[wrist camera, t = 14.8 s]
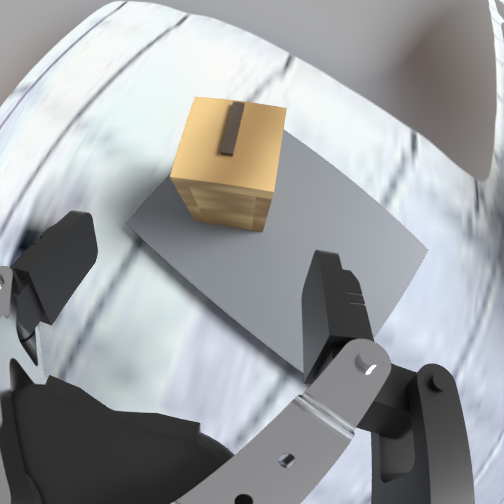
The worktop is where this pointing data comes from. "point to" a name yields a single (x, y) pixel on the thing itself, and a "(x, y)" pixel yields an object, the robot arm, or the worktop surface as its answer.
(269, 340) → the slate base plate
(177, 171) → the ochre knob
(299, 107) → the worktop surface
